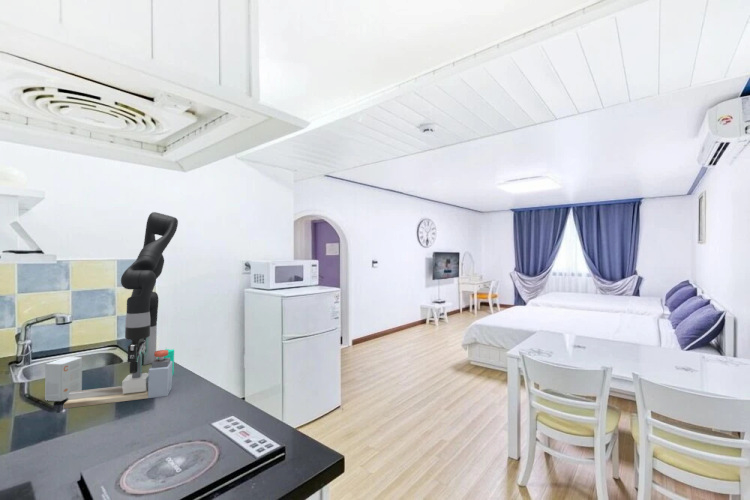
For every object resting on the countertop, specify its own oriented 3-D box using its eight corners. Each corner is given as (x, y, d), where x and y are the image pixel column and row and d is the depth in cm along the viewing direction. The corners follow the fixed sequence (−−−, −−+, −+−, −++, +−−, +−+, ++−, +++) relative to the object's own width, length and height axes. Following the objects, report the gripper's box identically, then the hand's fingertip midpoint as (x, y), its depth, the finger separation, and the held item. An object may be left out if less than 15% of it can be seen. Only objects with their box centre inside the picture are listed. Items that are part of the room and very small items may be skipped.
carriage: (128, 387, 127) (128, 353, 127) (150, 384, 130) (150, 351, 130) (122, 394, 120) (122, 358, 121) (145, 391, 123) (146, 356, 123)
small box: (66, 391, 127) (67, 356, 128) (82, 392, 127) (83, 357, 127) (43, 400, 119) (44, 363, 119) (61, 401, 119) (61, 364, 119)
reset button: (155, 359, 129) (155, 350, 129) (169, 358, 131) (169, 349, 131) (152, 363, 125) (153, 353, 125) (166, 361, 127) (166, 352, 127)
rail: (75, 397, 122) (75, 388, 122) (154, 388, 131) (154, 379, 131) (63, 408, 114) (63, 397, 114) (148, 398, 123) (148, 388, 123)
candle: (176, 374, 146) (177, 346, 146) (161, 379, 141) (162, 349, 141) (169, 372, 149) (169, 344, 150) (154, 376, 144) (154, 347, 145)
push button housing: (154, 388, 131) (154, 357, 131) (171, 386, 133) (172, 355, 133) (148, 398, 123) (148, 364, 123) (167, 395, 125) (168, 362, 125)
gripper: (145, 328, 120) (143, 374, 120) (154, 320, 133) (153, 362, 133) (119, 329, 117) (118, 376, 117) (131, 321, 131) (130, 364, 130)
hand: (137, 368), depth 125 cm, fingers open, 8 cm apart
